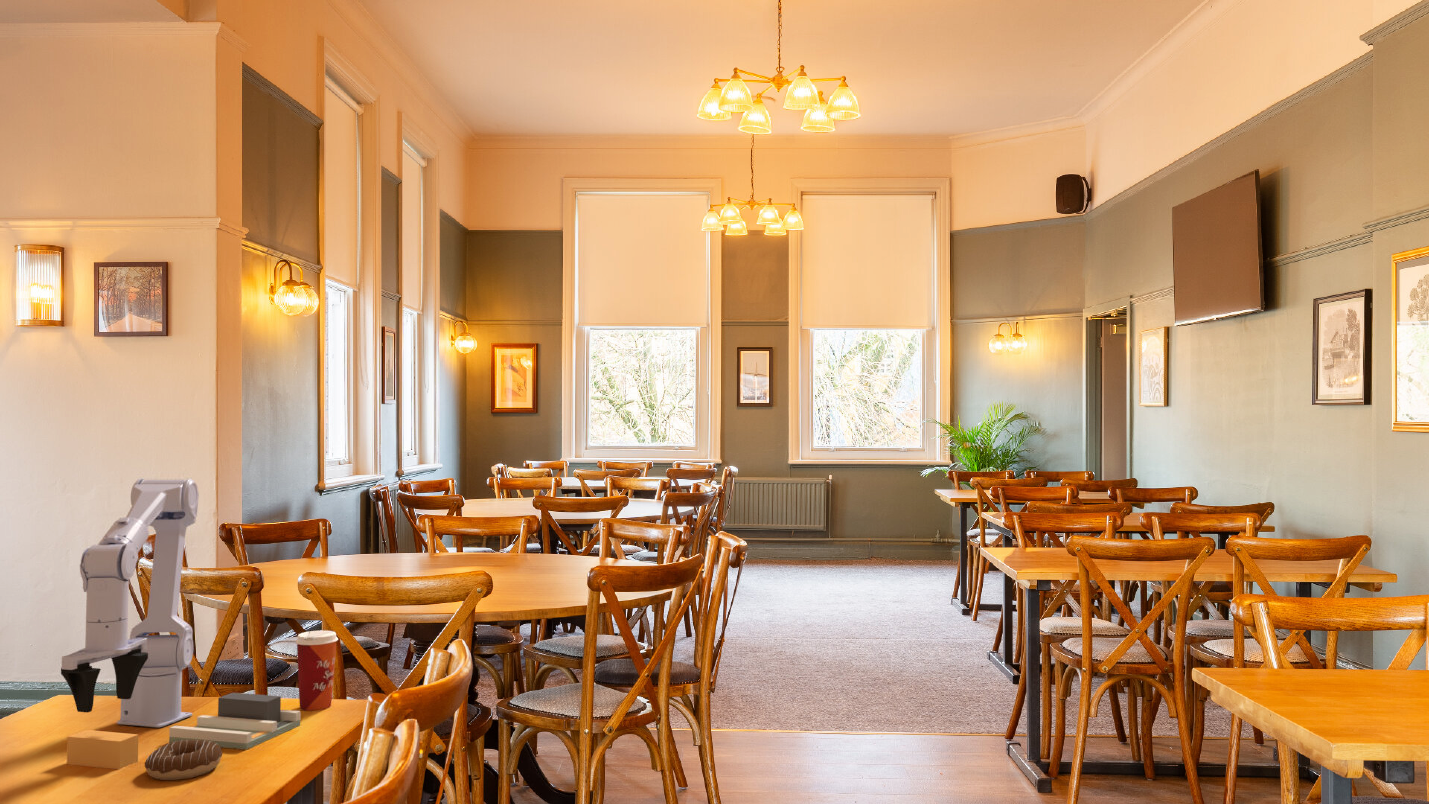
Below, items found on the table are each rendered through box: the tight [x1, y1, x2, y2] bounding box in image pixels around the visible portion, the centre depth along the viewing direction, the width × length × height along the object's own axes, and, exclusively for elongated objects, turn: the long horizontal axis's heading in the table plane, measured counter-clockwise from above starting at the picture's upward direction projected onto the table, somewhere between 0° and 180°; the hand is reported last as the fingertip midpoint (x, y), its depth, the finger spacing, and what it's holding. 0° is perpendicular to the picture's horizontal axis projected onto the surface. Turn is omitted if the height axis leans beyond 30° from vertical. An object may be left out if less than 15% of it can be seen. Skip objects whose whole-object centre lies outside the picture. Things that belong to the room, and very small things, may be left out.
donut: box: [144, 740, 223, 781], centre depth 152 cm, size 11×11×4 cm
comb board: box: [168, 709, 301, 750], centre depth 171 cm, size 15×14×2 cm
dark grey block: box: [217, 692, 282, 723], centre depth 174 cm, size 10×4×4 cm, turn 77°
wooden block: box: [66, 729, 139, 770], centre depth 156 cm, size 10×4×4 cm, turn 77°
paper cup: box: [295, 629, 339, 712], centre depth 188 cm, size 8×8×14 cm
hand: (104, 704), depth 156 cm, fingers open, 7 cm apart
